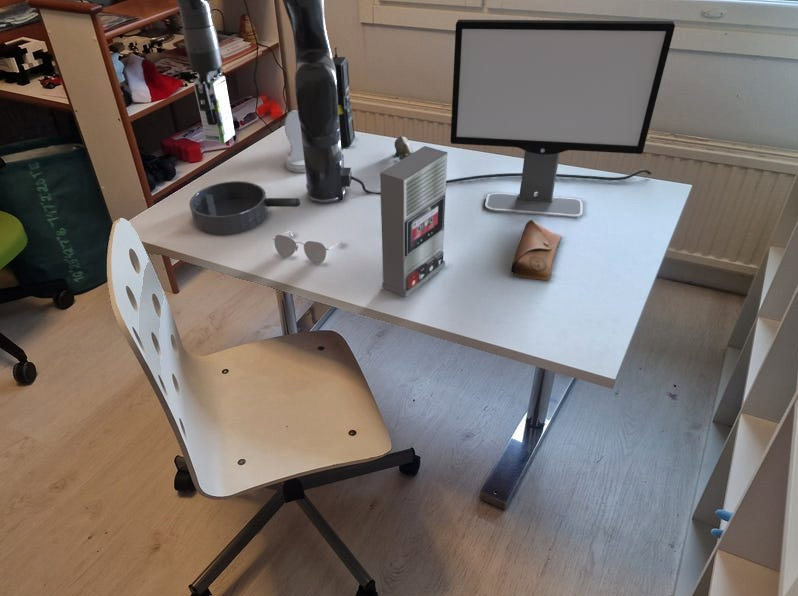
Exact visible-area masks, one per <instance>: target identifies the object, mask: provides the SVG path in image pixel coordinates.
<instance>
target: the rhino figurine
mask: <svg viewBox="0 0 798 596" xmlns="http://www.w3.org/2000/svg"><path fill="white" fill-rule="evenodd" d="M394 148H395V154H394V156H395V157H396V158H397V157H399V160H402V159H404V158H405V157H407V156H409V155H410V154H412V153H414V149H413V148H412V145H411V143H410V142H409V140H408V138H407V137H406V136H402V135H400V136H398V137H397V138H396V139H395V141H394Z"/></svg>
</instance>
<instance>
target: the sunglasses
mask: <svg viewBox="0 0 798 596" xmlns="http://www.w3.org/2000/svg"><path fill="white" fill-rule="evenodd" d="M287 233H289V234H290V235H291V236H292V237H294V235H293V234H292V232H291V231H285V232H283V233H281V234H276V235H275V236H273V237H272V240H273V243H274V247H275V250H276V252H277V253H278V255H279V256H281V257H283V258H289V257H291V256H293V254H294V253H295V252H297V251H298V249H299V245H298V244H301V245H303V250H304V254H305V256H306V257H307V259H308V260H309V261H310V262H311V263H313V264H319V265H320V264H321V263H323V262H324V261H325V260H326V257H327V251H330V250H331V249H333V248H334V247H335V246H337V245H338V244H341V247H343V246H344V244H343V241H339V242H338V243H336V244H334V245H332V246H331V247H328V248H327V247H326V246H325V244H323V243H322V242H319V241H315V240H308V241H306V242H305V243H303V242H302V241H301V242H300V241H296V240H295V239H293V238H292V237H291V236H288V235H284V234H287Z"/></svg>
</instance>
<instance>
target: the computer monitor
mask: <svg viewBox="0 0 798 596" xmlns="http://www.w3.org/2000/svg"><path fill="white" fill-rule="evenodd" d="M675 28H676V24H675V22H674V20H582V19H581V20H580V19H579V20H577V19H576V20H572V19H571V20H569V19H568V20H567V19H563V20H562V19H457V21H456V23H455V31H454V32H455V33H454V53H453V54H454V55H453V74H452V75H453V77H452V96H451V98H452V99H451V120H450V124H451V125H450V139H449V140H450V141H449V142H450V144H451V145H465V146H467V145H468V146H484V147H485V146H486V147H503V148H504V147H505V148H517V149H521V150H523V151H524V156H523V157H524V158H523V165H522V172H521V173H522V176H521V178H520V179H521V180H520V188H519V193H506V192H505V193H504V192H492V193H491V192H490V193H489V194H487V196H486V200H485V204H484V207H485V209H487V210H489V211H491V212H501V213H502V212H503V213H517V214H529V215H542V216H554V217H567V218H579V217H581V216H582V215H583V207H584V206H583V205H584V204H583V201H582V200H581V199H579V198H574V197H562V196H554V191H555V190H554V189H555V185H556V178H557V177H556V174H558V166H559V160H560V154H561V153H564V152H567V151H578V152H594V153H597V152H598V153H613V154H614V153H617V154H632V155H633V154H636V155H641V154H643V153H644V151H645V150H644V149H645V146H646V142H647V138H648V134H649V130H650V126H651V122H652V118H653V114H654V110H655V106H656V102H657V100H658V95H659V90H660V88H661V83H662V79H663V75H664V71H665V67H666V65H667V59H668V55H669V52H670V48H671V43H672V40H673V36H674V33H675Z"/></svg>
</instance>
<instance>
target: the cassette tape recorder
mask: <svg viewBox="0 0 798 596" xmlns="http://www.w3.org/2000/svg"><path fill="white" fill-rule="evenodd" d="M447 171H448V152H447V151H444V150H441V149H437V148H434V147H430V146H426V145H424V146H422V147H421V148H419V149H417V150H415V151H413V153H412V154H410V155H409V156H407V157H405V158H404V159H402V160H401V159H399V160H398V161H397V162H395V163H393V164H392V165H390V166H389V167H387V168H385V169H383V170H381V171H380V172H379V184H380V185H379V186H380V188H379V189H380V193H381V194H380V217H381V218H380V220H381V222H380V224H381V255H382V256H381V257H382V282H381V285H382V288H383V289H384V290H388V291H389V292H392V293H394V294H396V295H399V296H401V297H404V298H407V297H408V296H410V295H411V294H413V292H414V291H416V290H417V289H418V288H420V287H421V286H422V285H423V284H425V283H426V282H428V280H430V279H431V278H432V277H434V276H435V275H436V274H437V273H438V272H440V271H441V270H442V269H443V268H445V267H446V261H445V260H444V242H445V241H444V240H445V239H444V238H445V219H446V218H445V216H446V215H445V214H446V196H447V195H446V194H447V193H446V192H447V183H446V181H447Z"/></svg>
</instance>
